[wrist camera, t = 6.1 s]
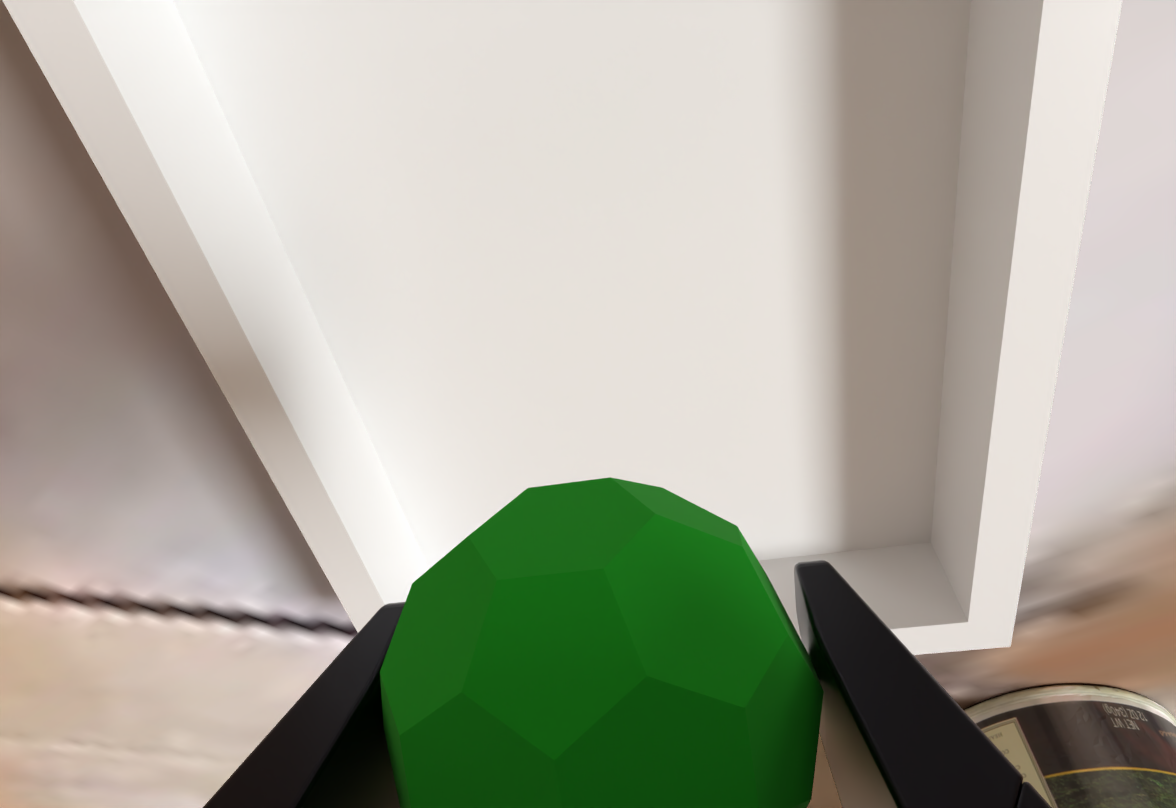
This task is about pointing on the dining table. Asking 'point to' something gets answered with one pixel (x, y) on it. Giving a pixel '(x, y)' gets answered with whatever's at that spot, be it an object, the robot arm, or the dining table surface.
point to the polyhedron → (599, 663)
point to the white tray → (620, 262)
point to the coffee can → (1086, 745)
